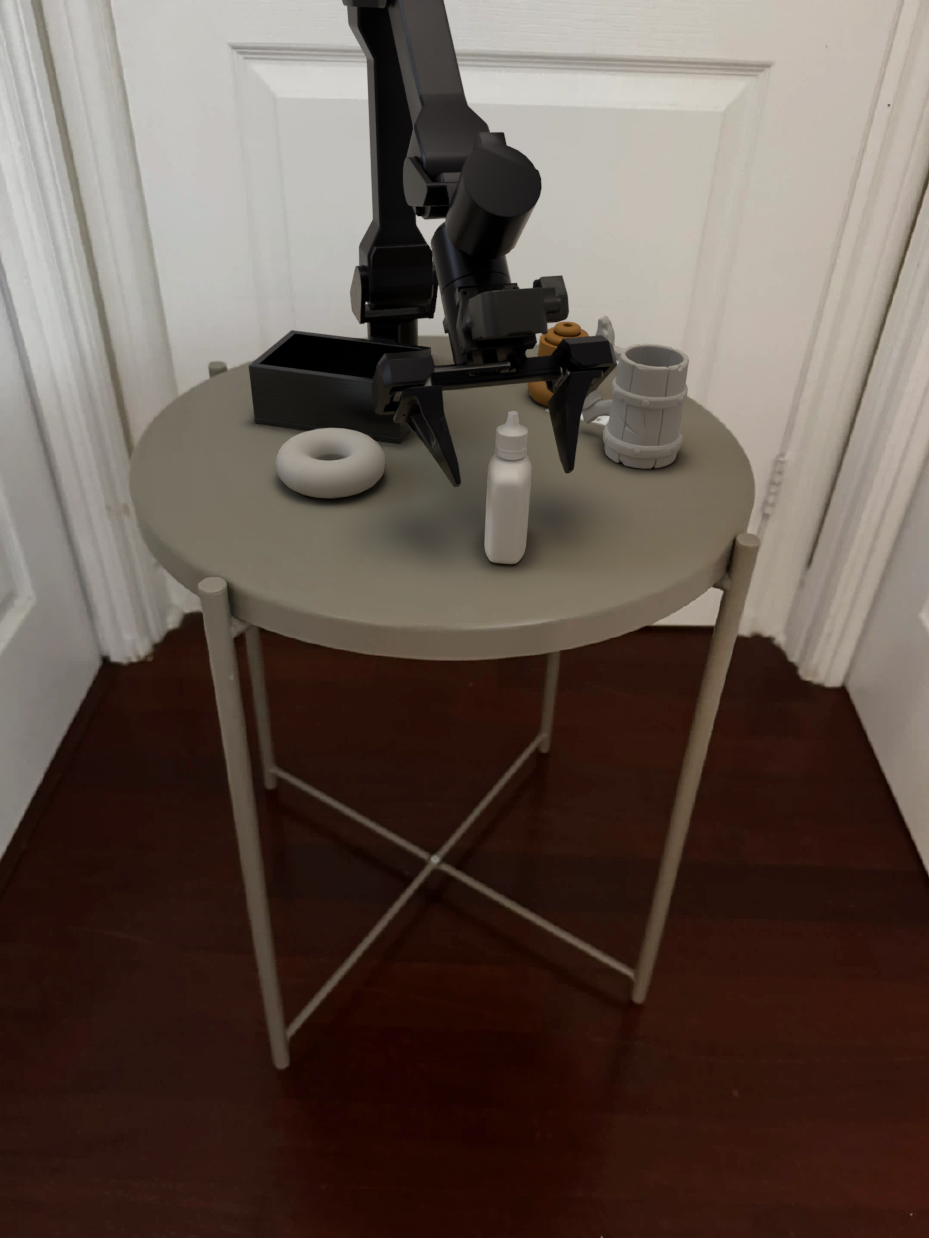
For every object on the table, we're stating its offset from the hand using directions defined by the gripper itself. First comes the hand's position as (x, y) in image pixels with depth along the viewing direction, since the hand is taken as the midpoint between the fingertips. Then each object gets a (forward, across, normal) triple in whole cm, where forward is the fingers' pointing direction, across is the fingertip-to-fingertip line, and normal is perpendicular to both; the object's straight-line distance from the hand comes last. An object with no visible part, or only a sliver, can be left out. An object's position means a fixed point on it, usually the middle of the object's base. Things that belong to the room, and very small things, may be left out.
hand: (514, 478), depth 73 cm
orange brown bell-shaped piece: (-15, +16, +25) cm, 34 cm away
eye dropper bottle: (+4, 0, +6) cm, 7 cm away
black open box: (-17, -8, +26) cm, 32 cm away
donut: (-7, -12, +17) cm, 21 cm away
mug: (-6, +18, +16) cm, 25 cm away
